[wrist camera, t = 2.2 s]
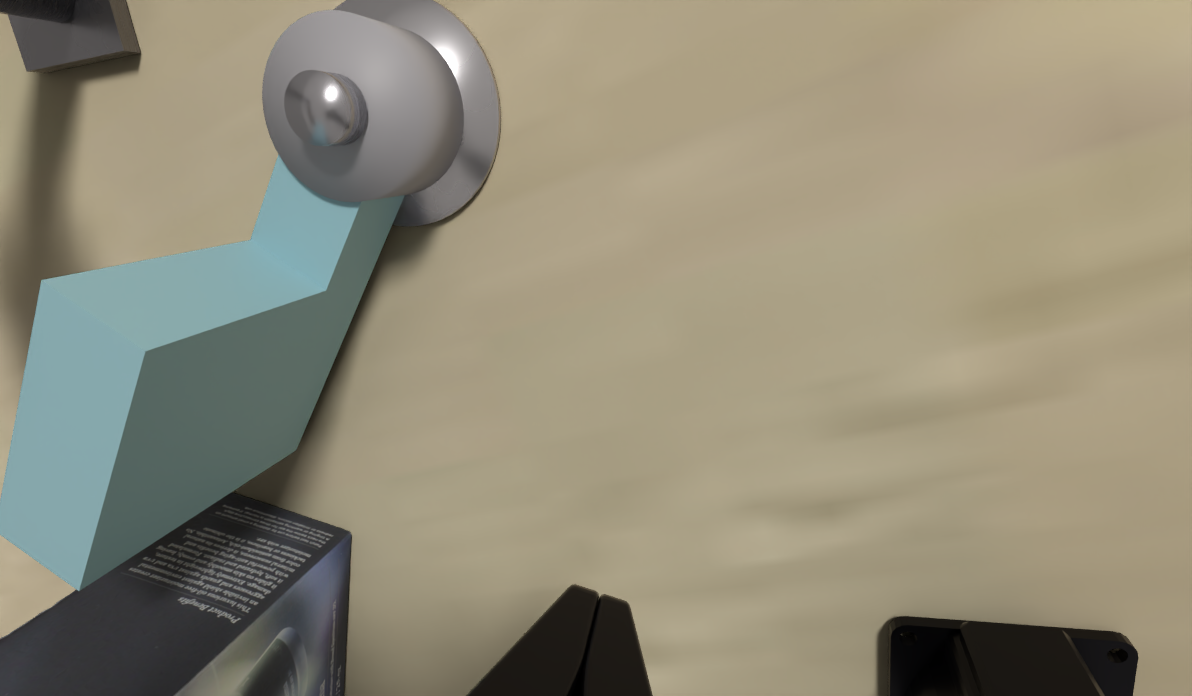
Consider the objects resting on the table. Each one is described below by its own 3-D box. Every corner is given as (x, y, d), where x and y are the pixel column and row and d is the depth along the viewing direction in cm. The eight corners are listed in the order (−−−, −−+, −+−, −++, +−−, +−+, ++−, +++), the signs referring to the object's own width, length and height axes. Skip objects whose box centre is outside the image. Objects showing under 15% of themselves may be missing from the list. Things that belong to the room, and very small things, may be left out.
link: (353, -7, 19) (62, -108, 11) (490, 80, 18) (289, 38, 11) (215, 394, 25) (-36, 509, 17) (317, 464, 24) (109, 612, 17)
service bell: (516, 215, 20) (459, 232, 16) (329, 234, 22) (241, 253, 18) (480, -32, 18) (407, -74, 14) (279, 12, 20) (169, -16, 16)
